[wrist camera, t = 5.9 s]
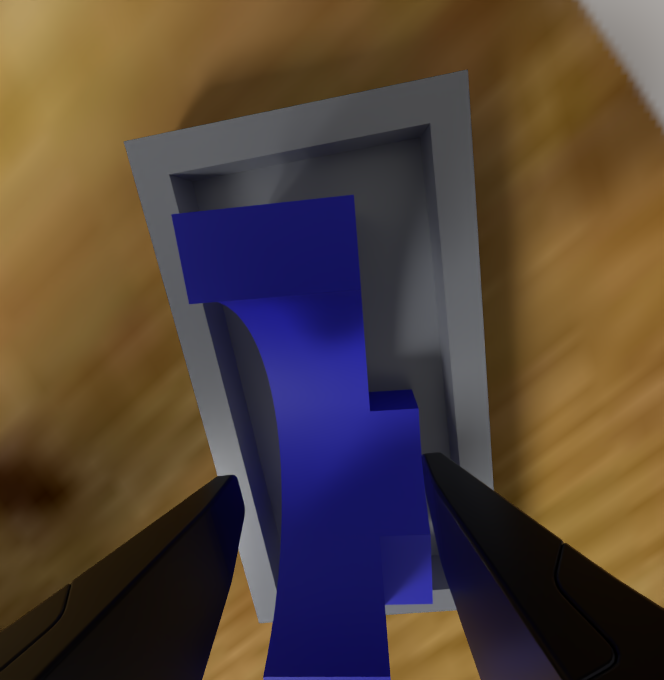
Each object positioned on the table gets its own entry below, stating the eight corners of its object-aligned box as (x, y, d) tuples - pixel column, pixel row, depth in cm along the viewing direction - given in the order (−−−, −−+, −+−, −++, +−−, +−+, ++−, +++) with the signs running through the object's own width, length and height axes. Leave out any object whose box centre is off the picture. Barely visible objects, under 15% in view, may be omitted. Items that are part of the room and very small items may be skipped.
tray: (483, 560, 16) (500, 607, 14) (270, 577, 17) (259, 622, 15) (448, 97, 11) (467, 69, 9) (160, 155, 12) (123, 141, 10)
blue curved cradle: (418, 531, 15) (457, 722, 9) (303, 535, 15) (271, 720, 9) (404, 207, 12) (451, 184, 6) (259, 222, 12) (170, 214, 6)
